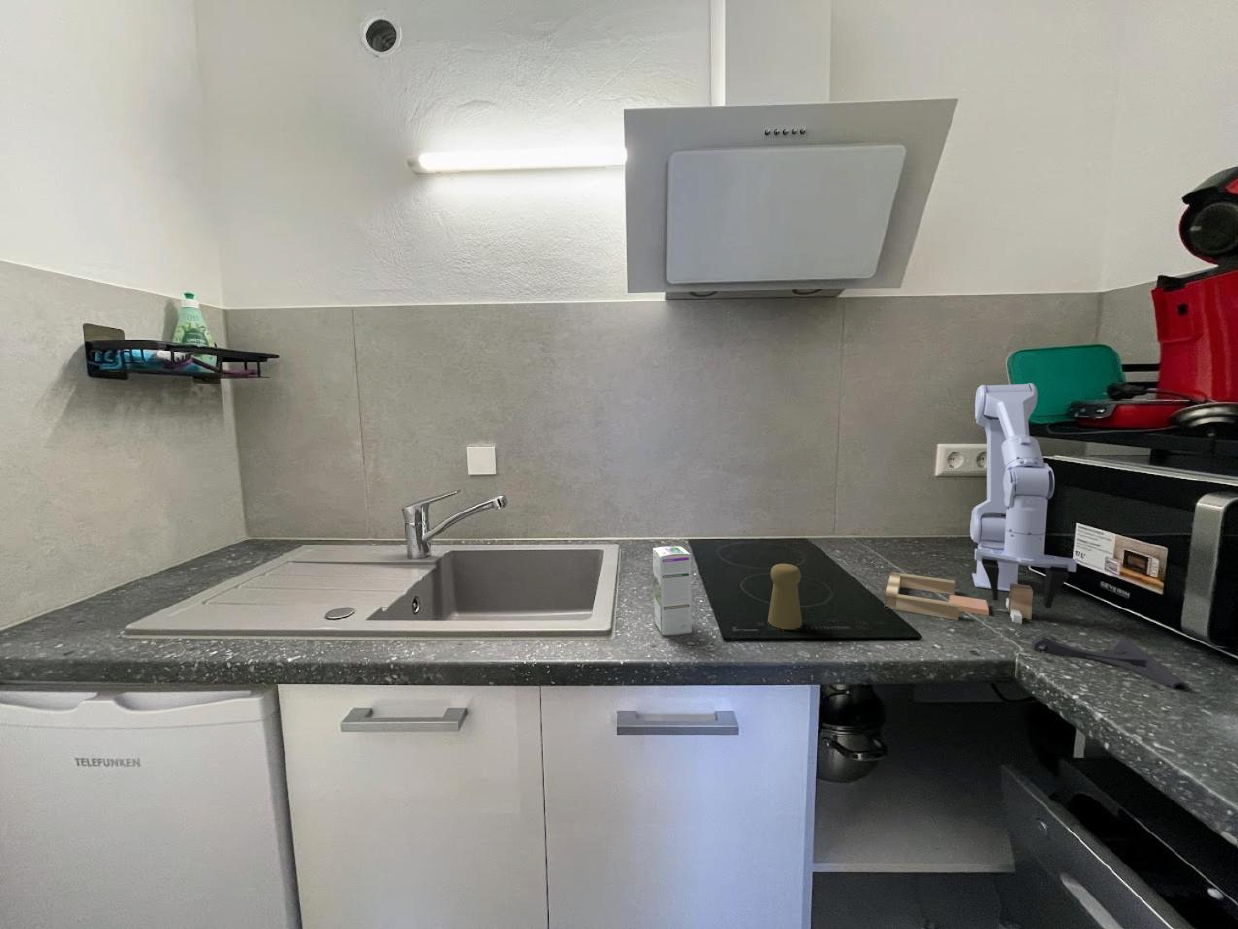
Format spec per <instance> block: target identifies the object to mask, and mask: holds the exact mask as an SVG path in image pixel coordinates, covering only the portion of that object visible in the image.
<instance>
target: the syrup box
mask: <svg viewBox="0 0 1238 929" xmlns="http://www.w3.org/2000/svg"><path fill="white" fill-rule="evenodd" d="M691 556H692V554H691V553H690V552H688V551H687V550H686V549H685V548H684V547H682V546H681V545H668V546H667V545H666V546H659V547H658V546H657V547H653V548H652V565H653V566H652V570H653V571H652V572H653V574H652V575H653V576H652V577H653V619H654V620H653V621H654V625H655V626H656V628H657V629H658V631H659V632H660V634H661V636H673V635H674V636H676V635H683V634H692V633H693V630H692V629H693V626H692V624H693V622H692V620H693V619H692V618H693V615H692V613H693V607H692V605H693V602H692V600H693V599H692V562H691V561H692V560H691V558H692V557H691Z"/></svg>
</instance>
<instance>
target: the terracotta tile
mask: <svg viewBox="0 0 1238 929" xmlns="http://www.w3.org/2000/svg"><path fill="white" fill-rule="evenodd" d="M949 602H952V603H958V605H959V612H965V613H971V614H978V615H981V616H982V615H983V616H989V615H990V610H989V605H988V602H987V600H986V599H981V598H975V597H974V598H973V597H967V596H959V595H956V594H955V595H952V594H949Z"/></svg>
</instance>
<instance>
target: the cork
mask: <svg viewBox="0 0 1238 929" xmlns="http://www.w3.org/2000/svg"><path fill="white" fill-rule="evenodd" d="M801 577H802V575H801V571H800V569H799V567H797V566H795V565H793V564H789V563H778V564H775V565H773V566H772V567H771V570H770V578H771V580H772V582H773V585H772V592H771V599H770V604H769V612H768V616H767V623H768V622H769V624H771V625H772V626H774V627H777V628H781V629H795V628H799V627H800V626H801V625H802V626H803V621H802V620H803V619H802V615H801V614H802V612H801V606H800V605H801V604H800V595H799V588H798V585H799V583H800V581H801ZM769 624H768V625H769Z"/></svg>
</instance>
